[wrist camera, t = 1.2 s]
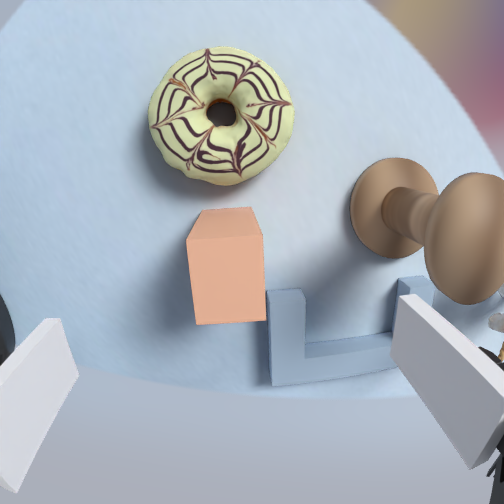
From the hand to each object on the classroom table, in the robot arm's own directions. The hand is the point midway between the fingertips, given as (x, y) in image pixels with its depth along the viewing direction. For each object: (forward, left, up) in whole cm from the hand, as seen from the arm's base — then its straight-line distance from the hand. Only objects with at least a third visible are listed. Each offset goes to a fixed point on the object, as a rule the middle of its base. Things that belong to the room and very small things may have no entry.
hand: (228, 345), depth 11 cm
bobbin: (+15, +2, -16) cm, 22 cm away
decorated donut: (0, +10, -17) cm, 20 cm away
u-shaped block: (+11, -10, -16) cm, 22 cm away
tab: (0, 0, -16) cm, 16 cm away
